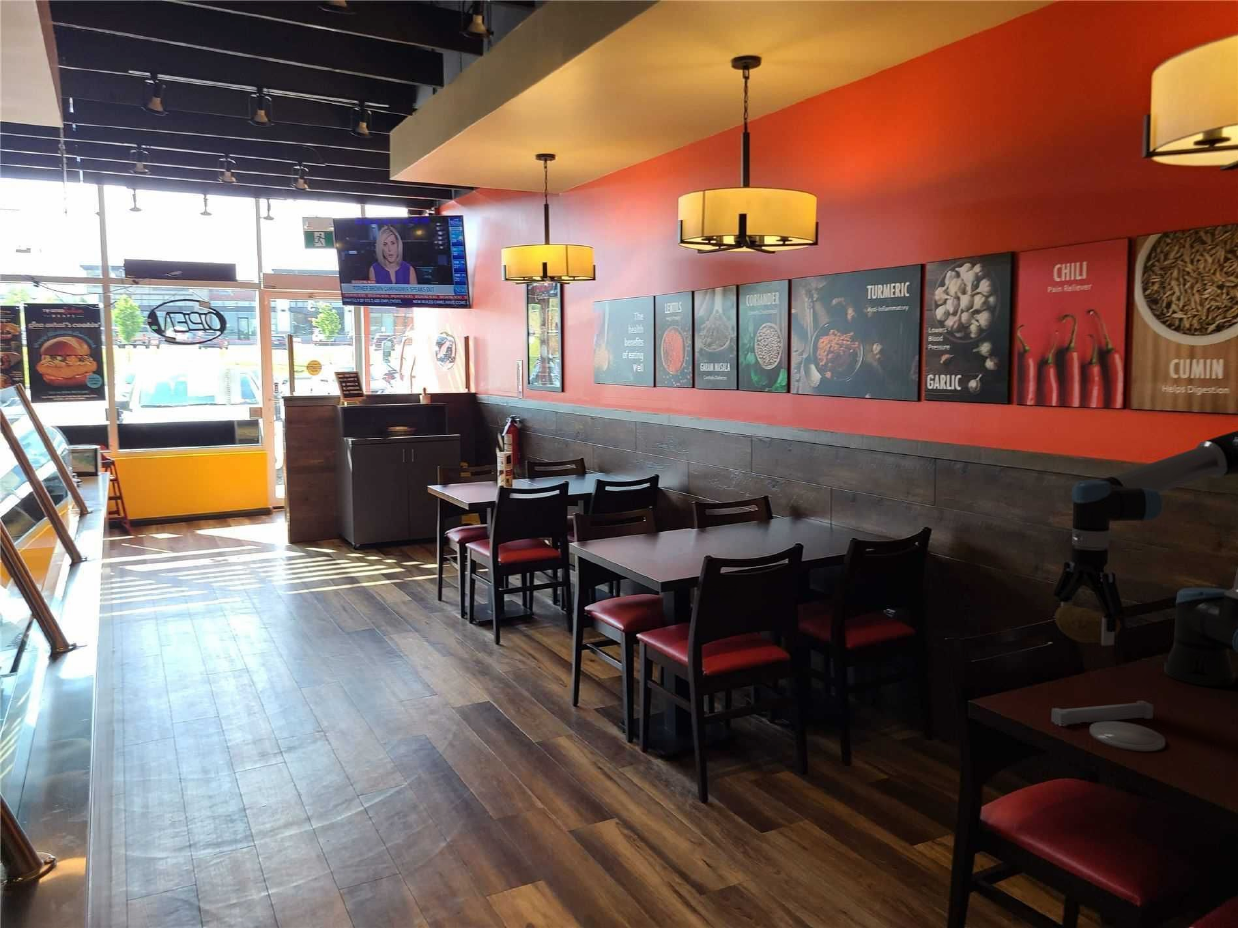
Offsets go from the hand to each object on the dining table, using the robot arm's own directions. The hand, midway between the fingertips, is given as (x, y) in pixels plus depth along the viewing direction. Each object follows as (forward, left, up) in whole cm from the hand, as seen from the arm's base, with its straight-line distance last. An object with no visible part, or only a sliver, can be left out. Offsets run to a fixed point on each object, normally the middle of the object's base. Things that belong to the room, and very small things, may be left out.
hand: (1086, 636), depth 205 cm
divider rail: (+3, +10, -16) cm, 19 cm away
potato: (0, 0, -1) cm, 1 cm away
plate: (+5, +19, -16) cm, 26 cm away
